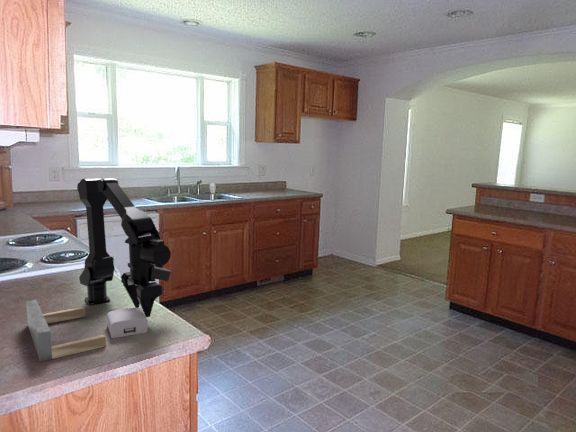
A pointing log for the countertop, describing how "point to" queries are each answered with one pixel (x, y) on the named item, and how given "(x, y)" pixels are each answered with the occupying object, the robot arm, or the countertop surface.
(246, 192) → the countertop surface
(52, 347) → the guarded bay
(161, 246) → the robot arm
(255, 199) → the countertop surface
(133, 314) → the charger
